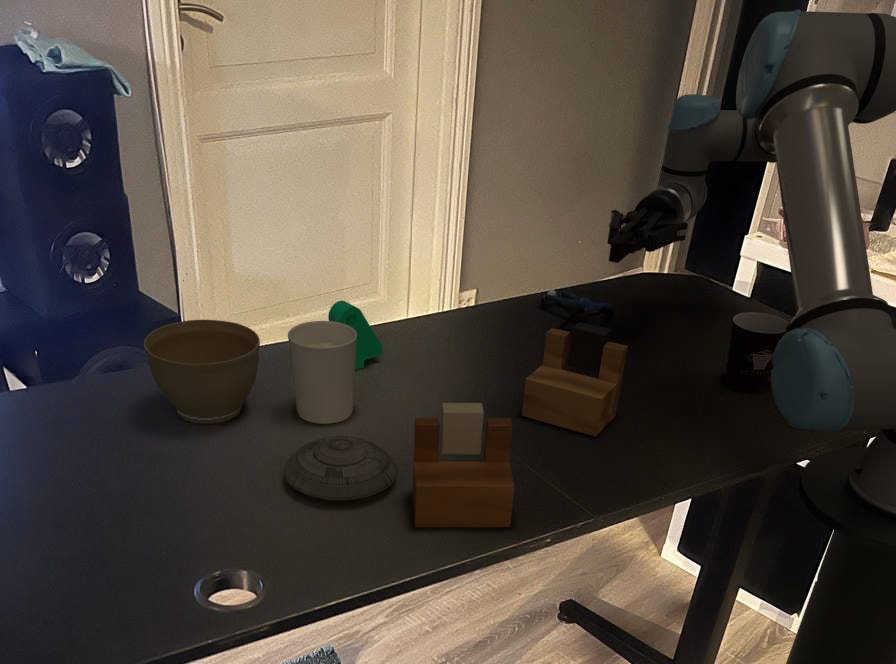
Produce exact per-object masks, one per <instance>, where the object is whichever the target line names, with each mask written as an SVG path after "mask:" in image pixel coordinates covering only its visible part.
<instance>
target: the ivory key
mask: <svg viewBox="0 0 896 664" xmlns="http://www.w3.org/2000/svg"><path fill="white" fill-rule="evenodd" d="M484 415H485V412H484V407H483V403H482V402H441V417H440V418H441V419H440V435H439V448H440V454H441V455H481V453H482V441H483V428H484Z"/></svg>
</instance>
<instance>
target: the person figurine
mask: <svg viewBox="0 0 896 664" xmlns="http://www.w3.org/2000/svg"><path fill="white" fill-rule="evenodd" d="M564 298H566V299H564ZM548 301H550V302H553V303H557V304H558V305H559V306H562V307H565V308H566V309H568V310H571V311H573V312H572V314H571V315H569V316H568V318H567V319H566V320H564V321H563V322H561V323H560V325H559V327H560V328H562V329H565V327H568V325H569V322H571V320H573V319H574V318H575V317H577V316H578V315H583V314H584V315H588V317H589V318H592V317H596V316H600V315H603V318H604V319H605V320H611V319H613V318H614V317H615V310H614V308H612V305H611V303H610V302H604V301H601V302H600V301H599V302H594V301H593V300H592V299H591V298H590V297H586V296H585V297H581V296H577V295H576V294H574V293H571V292H567V291H564V290H563V289H558V296H557V292H556V291H555V289H549V290H548V291H547V293H545V292H542V293H541V297H540V307H541V308H543V309H545V308H546V306H547V303H548Z"/></svg>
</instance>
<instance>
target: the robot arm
mask: <svg viewBox="0 0 896 664" xmlns="http://www.w3.org/2000/svg"><path fill="white" fill-rule="evenodd" d="M721 104H722V103H721V100H720V99H719V98H718V97H716V96H712V95H708V94H697V93H695V94H693V93H690V94H682V95H681V96H678V97H677V98H676V100H674V103H673V107H672V110H671V113H670V117H669V118H670V119H669V123H668V126H667V134H666V141H665V146H664V147H665V148H664V155H663V160H662V166H661V169H660V175H659V181H658V186H657V187H656V188H655V189H654V190H652V191H651V192H649V193H648V194H647V195H646V196H645V197H643V198H642V199H641V200H640V201H639V202H638V203H637V204H636V206H635V207H634V209H633V210H630V211H628V212H626V214H624V213H623V212H620V211H619V210H617V209H613V210H612V209H611V210H610V216H609V224H608V228H609V229H608V236H607V242H606V243H607V244H608V245H610V249H609V256H608V262H609V263H610V262H611V263H616V264H619V263H620V262H621V261H622V260H623V259H624V258H626V257H627V256H628V255H630V254H635V253H637V252H640V251H641V250H643V249H645V252H647V253H653V252H655V251H658V250H660V249H662V248H664V247H666V246H669V245H672V244H674V243H676V242H684V241H686V237H687V231H688V228H689V227H688V226H689V223H688V221H689V220H691V219H692V218H694V217H695V216H696V215H697V214H698V213H699V212H700V210H701V209H702V208H703V206H704V204H705V202H706V200H707V198H708V197H707V196H708V186H707V183H706V178H707V173H708V170H709V169H708V168H709V164H710V162H757V163H759V162H760V163H764V162H765V163H766V162H767V163H769V164H775V163H776V168H777V169H776V170H777V177H778V184H779V192H780V199H781V208H782V214H783V222H784V230H785V238H786V246H787V254H788V260H789V268H790V276H791V283H792V291H793V299H794V305H795V306H794V307H795V313H796V314H795V315H794V316H793V317H792V319H791V320H790V321H789V322H788V323H789V324H788V325H787V327H786V331H785V332H786V334H785V335H784V336H783V337H782V338H781V339H780V340H779V342H778V344H777V346H776V348H775V350H774V353H773V358H772V363H773V366H774V368H773V369H772V370H771V374H770V385H771V386H770V387H771V393H772V396H773V399H774V402H775V405H776V407H777V409H778V412H779V413H780V415H781V416H782V417H783V419H784V420H785V421H786V422H787V423H789V424H791V425H792V426H793V427H794V428H797V429H799V430H806V431H821V432H825V433H834V432H840V431H864V430H865V431H867V430H868V431H871V430H874V431H875V430H877V431H878V430H879V431H878V433H877V434H876V436H874V438H873V439H872V441H871V442H870V443H869V444H868V446H866V447H867V448H866V449H865V451H864V452H863V453H862V454H861V456H860V457H859V458H858V459H857V460H856V462H855V463H854V464H853V465H852V467H851V469H850V472H849V475H848V478H847V480H846V488H847V491H848V493H849V494H850V496H851V497H852V498H853V499H854V500H855V501H856V502H857V503H859V504H860V505H861V506H863V507H864V508H866V509H867V510H869V511H871V512H873V513H875V514H877V515H879V516H882V517H884V518H887V519H890V520H893V521H896V328H895V327H894V326H893V321H892V315H891V308H890V305H889V303H888V302H887V300H885V299H883V298H882V297H879V296H877V295H875V294H874V292H873V285H872V277H871V270H870V265H869V257H868V251H867V244H866V238H865V232H864V230H865V229H864V223H863V216H862V209H861V204H860V198H859V190H858V183H857V177H856V170H855V163H854V157H853V148H852V142H851V136H850V129H849V125H851V124H852V123H853V124H858V125H867V124H871V123H874V122H876V121H878V120H880V119H883V118H885V117H887V116H889V115H891V114H893V113H895V112H896V16H894V15H891V14H888V13H880V12H867V13H866V12H842V11H841V12H838V11H837V12H836V11H811V10H809V11H808V10H800V9H794V10H793V11H791V10H789V11H775V12H771V13H770V14H768V15H766V16H764V18H763V19H761V20H760V22H759V23H758V24H757V26H756V27H755V29H754V31H753V33H752V34H751V37H750V39H749V40H748V43H747V45H746V49H745V51H744V54H743V58H742V60H741V64H740V68H739V72H738V78H737V84H736V92H735V106H736V110H735V109H734V110H731V109H721ZM624 224H625V225H624Z"/></svg>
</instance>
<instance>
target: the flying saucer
mask: <svg viewBox="0 0 896 664" xmlns="http://www.w3.org/2000/svg"><path fill="white" fill-rule="evenodd" d="M397 475H398V467H397V465H396V463H395V460H394V459H393V458H392V457H391V455H389V453H388V452H387V451H386V450H385V449H384V448H382V447H381V446H379V445H377V444H375V443H374V442H371V441H369V440H366V439H362V438H359V437H355V436H346V435H335V436H327V437H322V438H319V439H315V440H313V441H310V442H308V443H306V444H304V445H303V446H301V447H300V448H298V449H297V450H296V451H294V453H293V454H292V455H291V456H290V457H289V458H288V460H287V462H286V463H285V465H284V469H283V476H284V478H285V480H286V482H287V483H288V484H289V485H290V486H291V487H292V488H293V489H295V490H296V491H298V492H300V493H301V494H304V495H306V496H308V497H312V498H316V499H321V500H326V501H338V502H339V501H342V502H343V501H354V500H360V499H365V498H369V497H371V496H374V495H377V494H380V493H381V492H383V491H385V490H386V489H388V488H389V487H390V486H391V485H393V483H394V481H396V479H397V477H398V476H397Z"/></svg>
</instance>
